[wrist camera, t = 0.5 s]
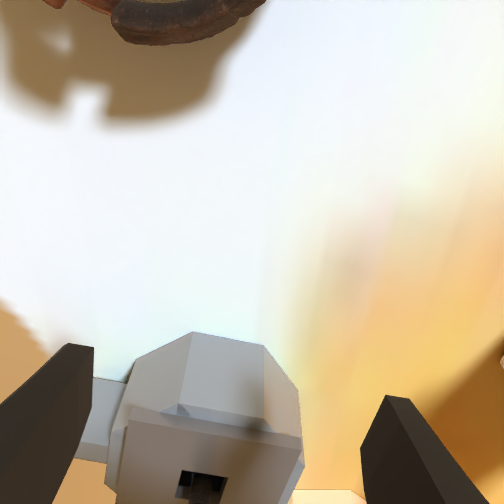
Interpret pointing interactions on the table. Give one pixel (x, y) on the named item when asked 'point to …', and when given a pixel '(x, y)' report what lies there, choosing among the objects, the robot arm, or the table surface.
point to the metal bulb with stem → (200, 488)
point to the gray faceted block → (198, 425)
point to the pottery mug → (169, 18)
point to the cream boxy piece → (325, 497)
